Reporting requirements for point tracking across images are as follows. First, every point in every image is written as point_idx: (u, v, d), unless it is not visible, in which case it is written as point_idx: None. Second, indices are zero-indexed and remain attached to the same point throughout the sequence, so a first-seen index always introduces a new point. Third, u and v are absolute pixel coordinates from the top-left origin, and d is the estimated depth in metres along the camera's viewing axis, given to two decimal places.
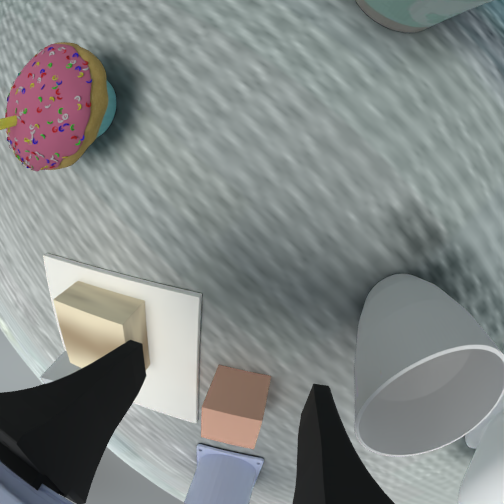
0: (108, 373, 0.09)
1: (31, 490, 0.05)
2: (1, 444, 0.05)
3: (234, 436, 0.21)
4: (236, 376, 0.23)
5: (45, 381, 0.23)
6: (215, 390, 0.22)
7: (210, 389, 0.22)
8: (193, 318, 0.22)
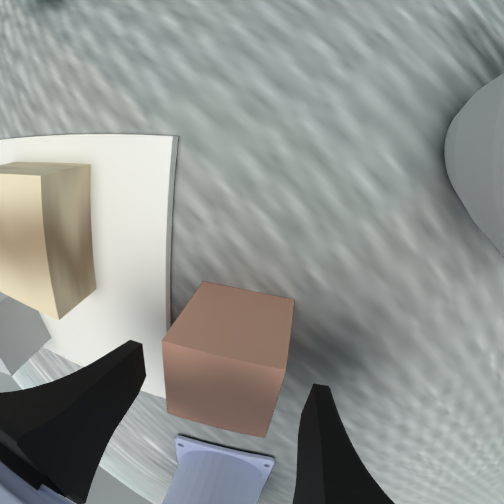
0: (108, 373, 0.09)
1: (30, 490, 0.05)
2: (1, 444, 0.05)
3: (228, 410, 0.11)
4: (233, 297, 0.14)
5: None
6: (193, 315, 0.12)
7: (183, 313, 0.12)
8: (161, 180, 0.13)
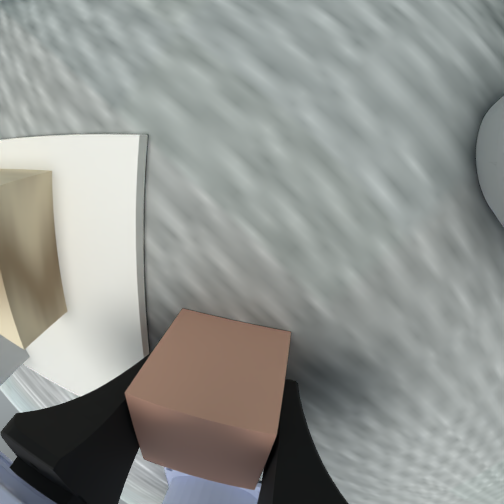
0: None
1: (31, 490, 0.05)
2: (27, 465, 0.05)
3: (210, 465, 0.08)
4: (216, 331, 0.11)
5: None
6: (165, 357, 0.09)
7: (154, 354, 0.09)
8: (127, 189, 0.10)
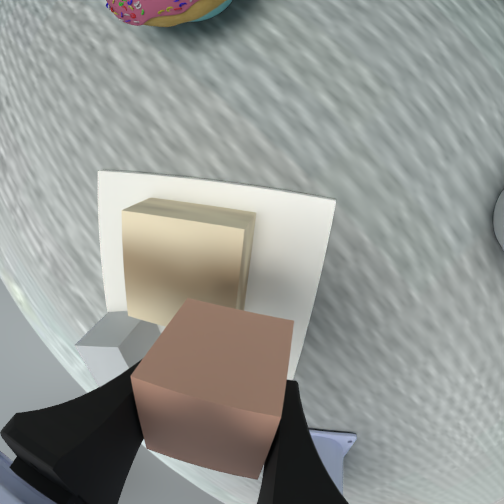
0: None
1: (31, 490, 0.05)
2: (26, 464, 0.05)
3: (214, 453, 0.09)
4: (220, 319, 0.11)
5: (83, 350, 0.19)
6: (171, 342, 0.10)
7: (159, 340, 0.10)
8: (323, 232, 0.18)
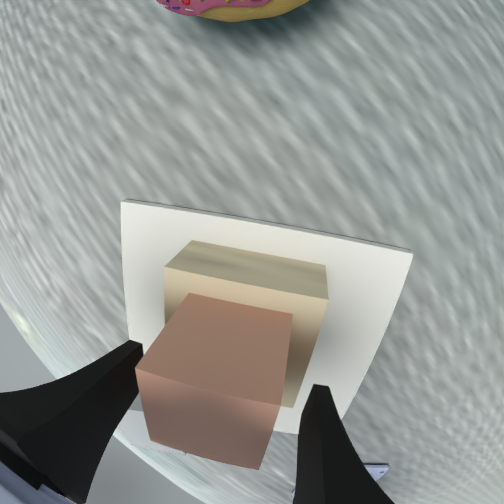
0: (108, 373, 0.09)
1: (30, 490, 0.05)
2: (1, 444, 0.05)
3: (216, 443, 0.09)
4: (221, 313, 0.12)
5: None
6: (173, 335, 0.10)
7: (162, 333, 0.10)
8: (395, 286, 0.15)
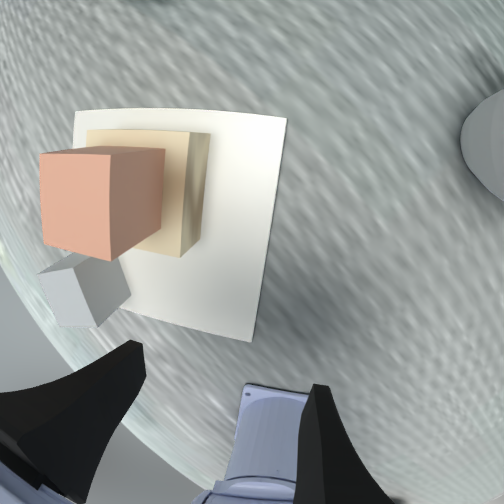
0: (108, 373, 0.09)
1: (31, 490, 0.05)
2: (1, 444, 0.05)
3: (79, 223, 0.12)
4: (113, 147, 0.14)
5: (43, 279, 0.18)
6: (73, 149, 0.13)
7: None
8: (275, 149, 0.17)
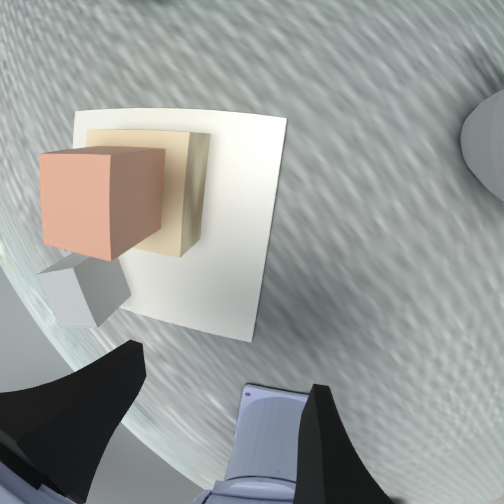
0: (108, 373, 0.09)
1: (31, 490, 0.05)
2: (1, 444, 0.05)
3: (79, 223, 0.12)
4: (113, 147, 0.14)
5: (43, 279, 0.18)
6: (73, 149, 0.13)
7: None
8: (275, 149, 0.17)
